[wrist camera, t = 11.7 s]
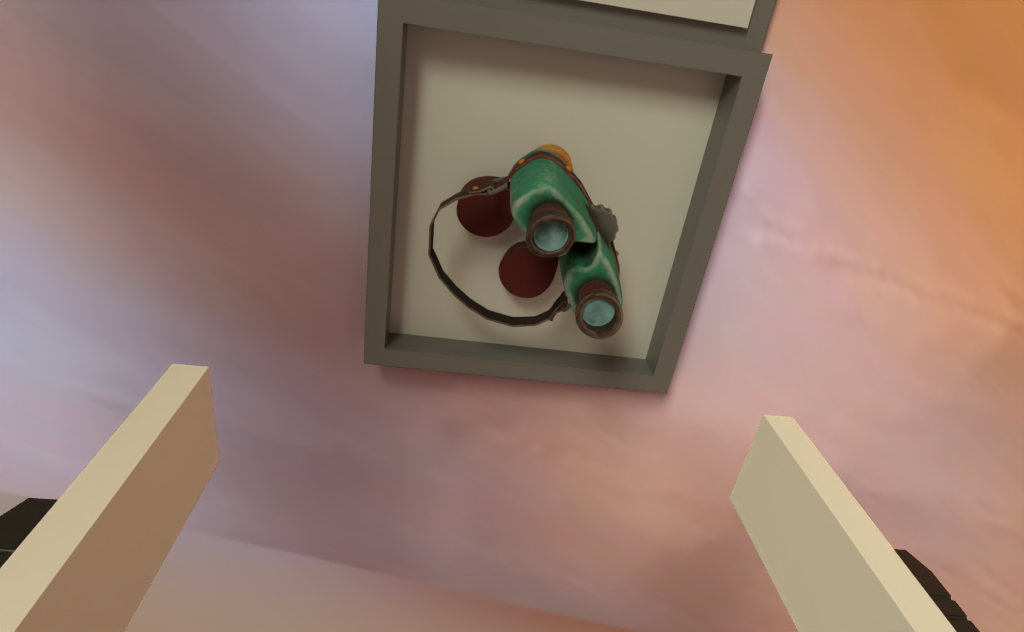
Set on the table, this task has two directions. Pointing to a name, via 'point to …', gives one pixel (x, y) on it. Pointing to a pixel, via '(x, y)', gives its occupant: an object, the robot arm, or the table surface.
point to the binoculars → (545, 241)
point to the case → (595, 159)
